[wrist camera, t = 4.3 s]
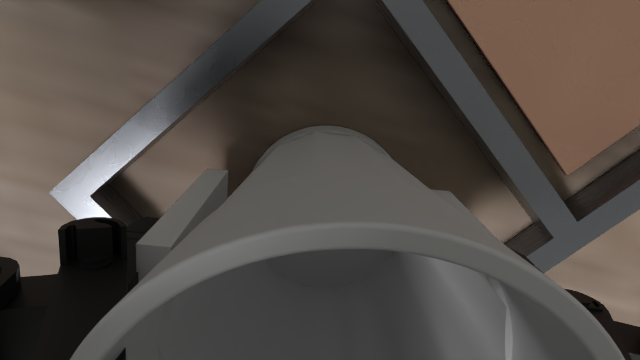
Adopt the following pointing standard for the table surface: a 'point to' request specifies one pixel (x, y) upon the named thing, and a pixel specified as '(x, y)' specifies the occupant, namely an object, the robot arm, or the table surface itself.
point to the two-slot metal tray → (453, 105)
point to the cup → (343, 274)
